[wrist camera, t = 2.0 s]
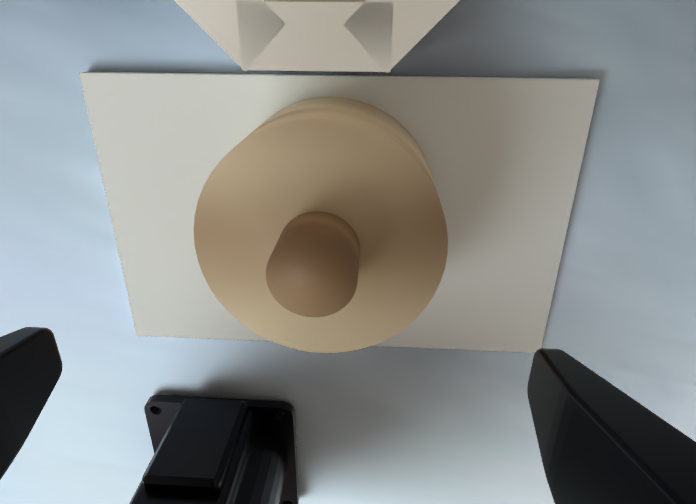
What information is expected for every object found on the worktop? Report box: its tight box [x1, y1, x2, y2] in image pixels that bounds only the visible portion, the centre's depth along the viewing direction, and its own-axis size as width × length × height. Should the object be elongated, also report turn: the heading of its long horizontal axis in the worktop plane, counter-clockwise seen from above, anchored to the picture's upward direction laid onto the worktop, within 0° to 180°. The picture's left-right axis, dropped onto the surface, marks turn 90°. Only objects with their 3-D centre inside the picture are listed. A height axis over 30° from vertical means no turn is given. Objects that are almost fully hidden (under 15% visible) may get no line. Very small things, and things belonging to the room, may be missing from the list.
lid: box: [194, 97, 448, 353], centre depth 14 cm, size 7×7×6 cm
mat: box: [79, 72, 600, 353], centre depth 17 cm, size 10×16×1 cm, turn 90°
